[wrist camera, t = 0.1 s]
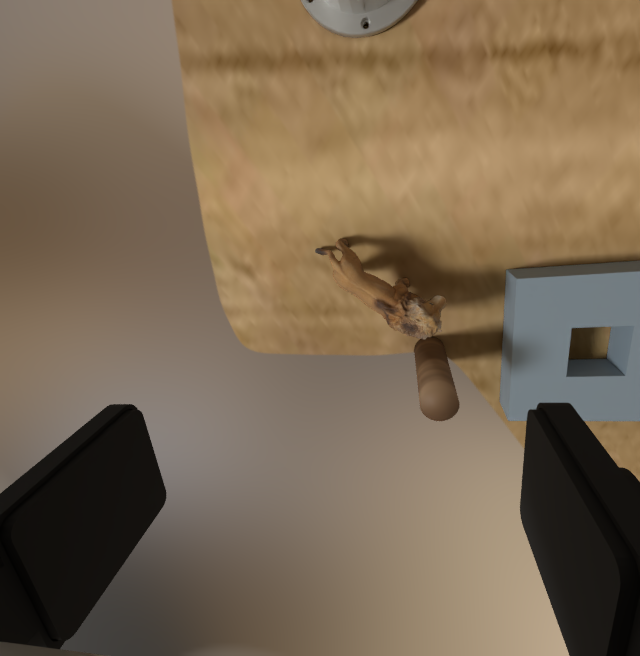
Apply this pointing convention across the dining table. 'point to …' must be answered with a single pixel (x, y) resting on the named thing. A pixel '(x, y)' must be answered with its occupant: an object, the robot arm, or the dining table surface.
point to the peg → (435, 380)
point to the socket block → (554, 340)
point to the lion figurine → (386, 295)
